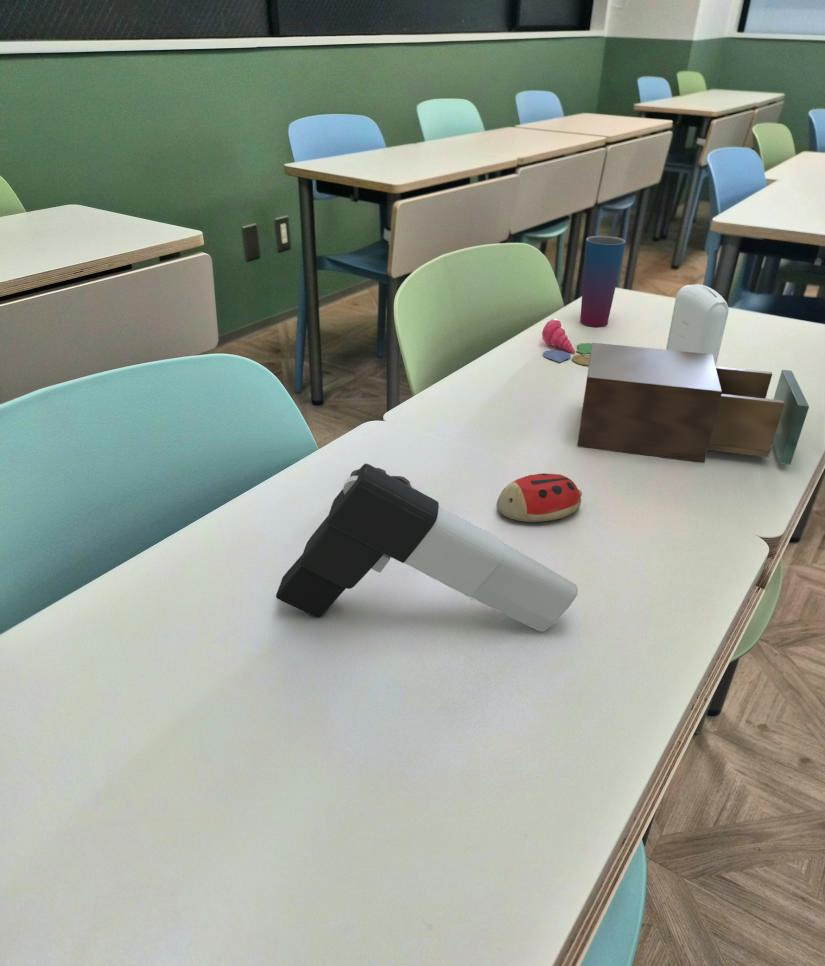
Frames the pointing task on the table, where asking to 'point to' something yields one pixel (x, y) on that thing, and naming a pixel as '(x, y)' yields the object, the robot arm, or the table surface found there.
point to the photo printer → (698, 321)
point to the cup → (600, 278)
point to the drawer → (758, 414)
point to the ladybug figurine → (539, 498)
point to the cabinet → (649, 402)
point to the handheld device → (418, 553)
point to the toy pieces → (563, 344)
